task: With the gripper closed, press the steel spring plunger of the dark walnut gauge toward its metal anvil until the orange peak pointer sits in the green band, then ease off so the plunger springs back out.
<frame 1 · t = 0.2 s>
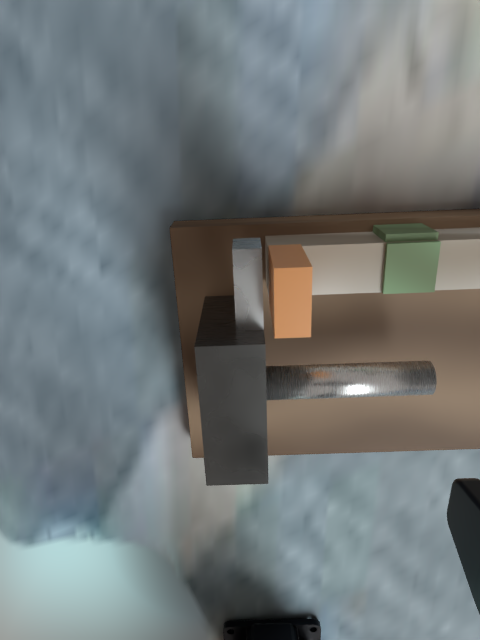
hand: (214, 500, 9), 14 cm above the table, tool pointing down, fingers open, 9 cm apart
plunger: (318, 348, 18), point 4 cm above the table, slide at 0.0 cm
peak pointer: (288, 288, 16), point 5 cm above the table, slide at 0.0 cm
gauge base: (447, 332, 23), on the table
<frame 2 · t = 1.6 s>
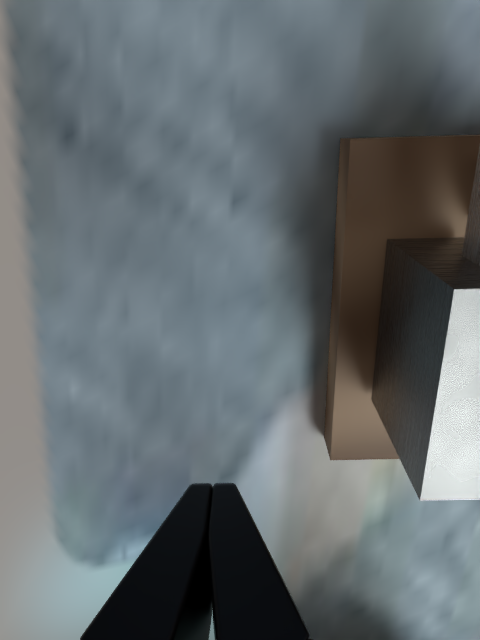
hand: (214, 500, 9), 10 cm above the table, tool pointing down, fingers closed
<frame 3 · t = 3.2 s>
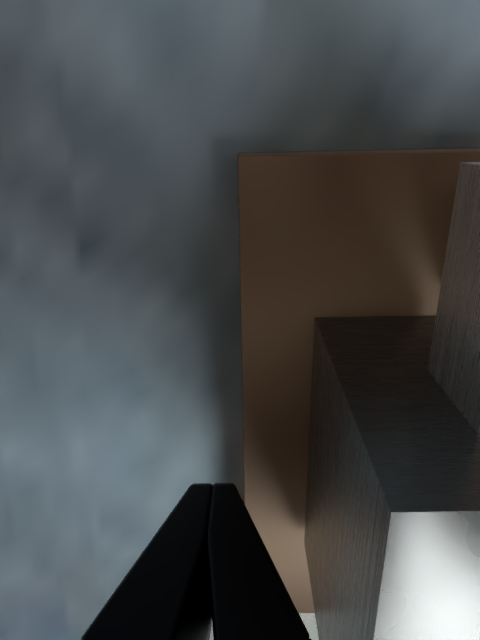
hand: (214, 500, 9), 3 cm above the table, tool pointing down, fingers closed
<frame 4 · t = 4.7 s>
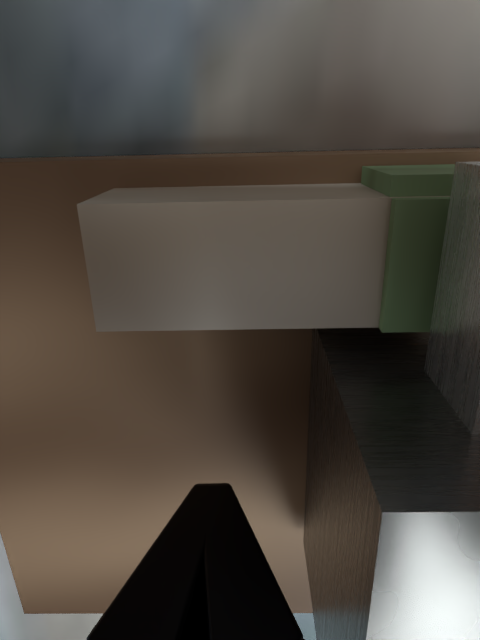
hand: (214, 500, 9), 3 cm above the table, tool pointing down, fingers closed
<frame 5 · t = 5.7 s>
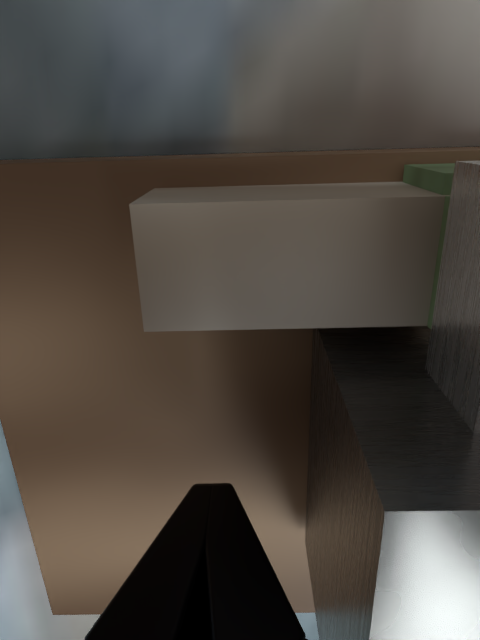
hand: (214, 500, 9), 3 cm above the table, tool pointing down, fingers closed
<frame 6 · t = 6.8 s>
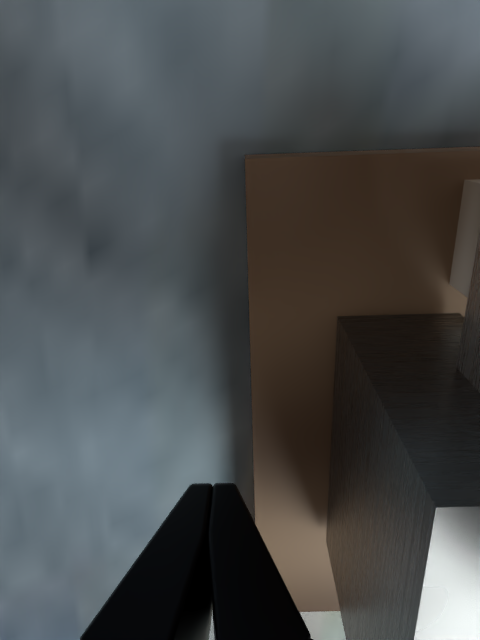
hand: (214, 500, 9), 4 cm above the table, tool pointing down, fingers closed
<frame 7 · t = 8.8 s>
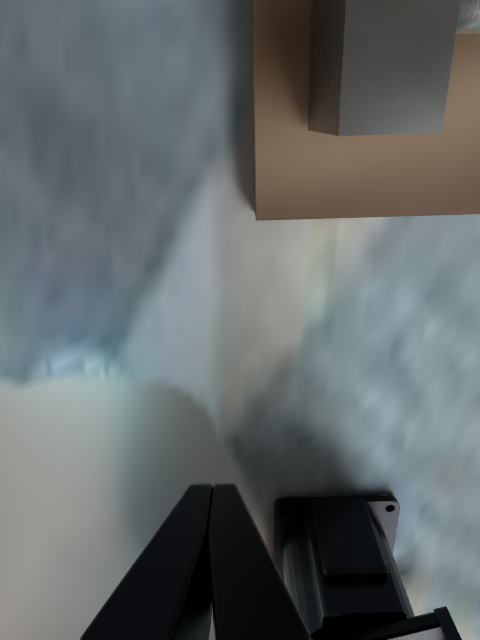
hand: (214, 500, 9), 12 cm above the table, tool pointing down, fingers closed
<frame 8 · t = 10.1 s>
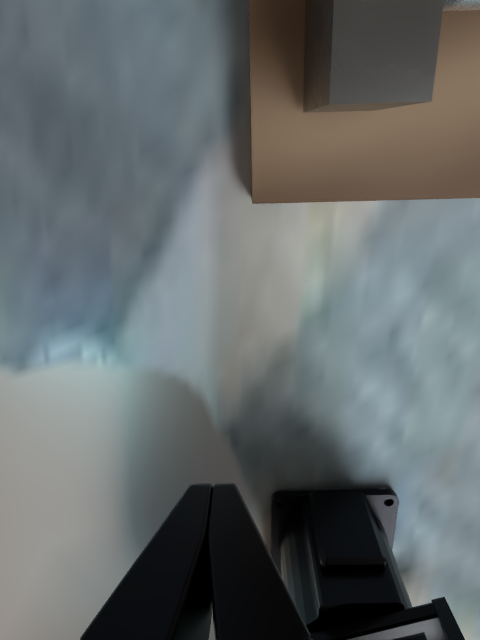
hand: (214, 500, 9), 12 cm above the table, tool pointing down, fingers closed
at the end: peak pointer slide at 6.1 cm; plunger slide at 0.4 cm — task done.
